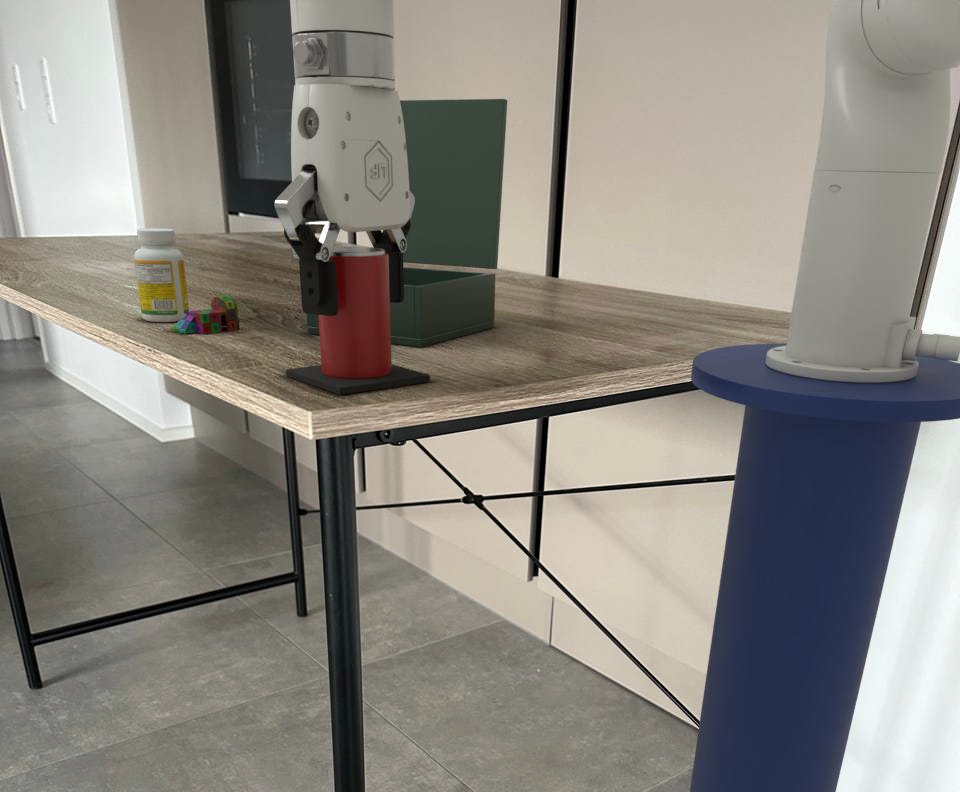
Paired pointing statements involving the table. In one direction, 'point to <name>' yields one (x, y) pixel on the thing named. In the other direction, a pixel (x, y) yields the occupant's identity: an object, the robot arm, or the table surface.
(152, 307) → the supplement bottle
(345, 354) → the can
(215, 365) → the table surface
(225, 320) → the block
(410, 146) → the bin lid
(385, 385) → the mat
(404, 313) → the bin
